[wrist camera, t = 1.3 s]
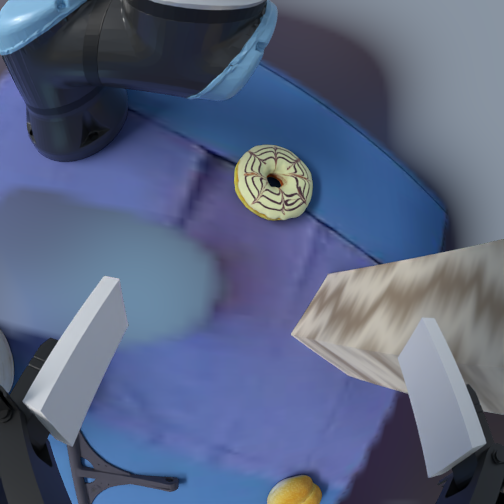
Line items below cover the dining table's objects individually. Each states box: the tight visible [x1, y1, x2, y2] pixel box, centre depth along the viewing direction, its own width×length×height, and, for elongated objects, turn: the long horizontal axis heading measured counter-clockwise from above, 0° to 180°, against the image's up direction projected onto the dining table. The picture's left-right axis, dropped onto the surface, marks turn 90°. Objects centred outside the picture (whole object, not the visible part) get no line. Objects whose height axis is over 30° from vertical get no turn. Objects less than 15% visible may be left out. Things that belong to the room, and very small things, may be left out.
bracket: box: [67, 430, 179, 504], centre depth 27 cm, size 14×15×3 cm
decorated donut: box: [234, 145, 313, 221], centre depth 39 cm, size 10×11×4 cm
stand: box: [291, 239, 504, 415], centre depth 26 cm, size 10×12×30 cm
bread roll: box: [267, 475, 322, 504], centre depth 32 cm, size 8×9×4 cm
